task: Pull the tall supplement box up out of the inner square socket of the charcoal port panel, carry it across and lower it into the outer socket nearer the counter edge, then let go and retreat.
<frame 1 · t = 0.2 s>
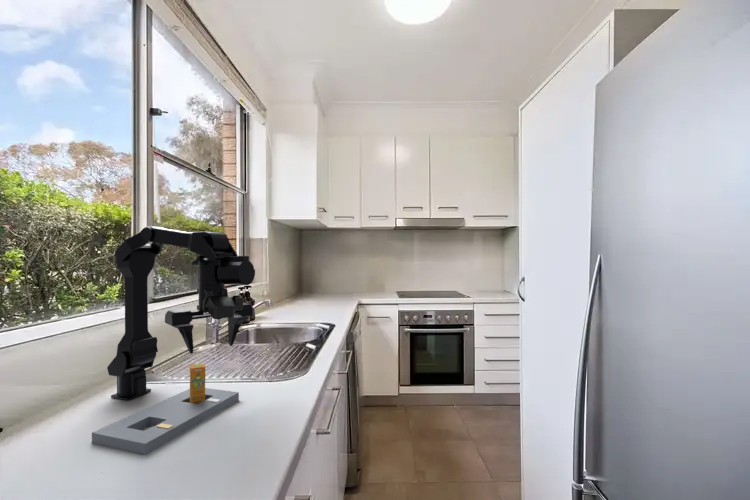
hand: (211, 349, 84), 14 cm above the worktop, fingers open, 9 cm apart
supplement box: (197, 407, 84), resting in port panel
port panel: (174, 419, 78), on the worktop
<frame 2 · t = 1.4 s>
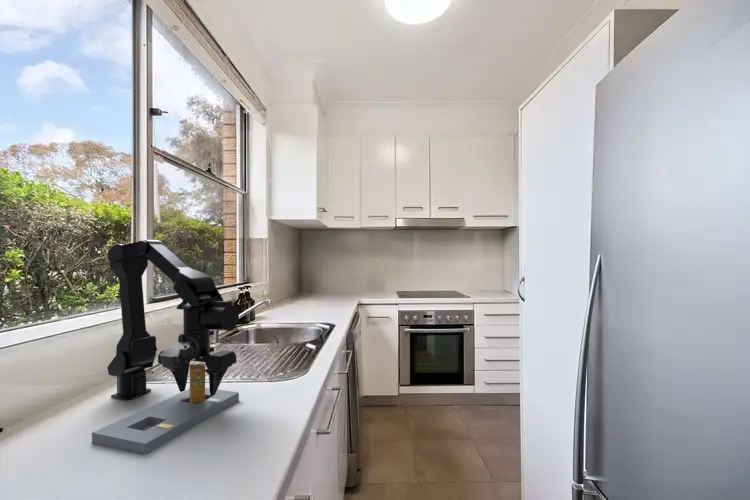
hand: (197, 393, 84), 3 cm above the worktop, fingers open, 9 cm apart
nothing on the worktop moved.
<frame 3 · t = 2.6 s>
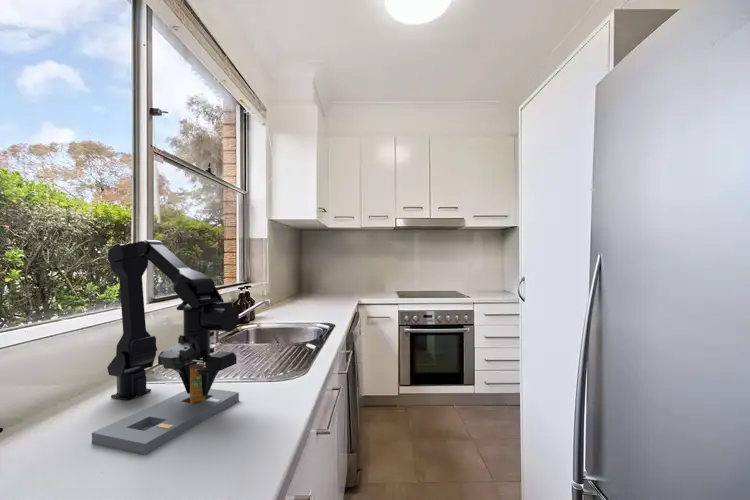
hand: (197, 394, 84), 3 cm above the worktop, fingers closed on supplement box, 4 cm apart
supplement box: (197, 407, 84), resting in port panel, touching gripper
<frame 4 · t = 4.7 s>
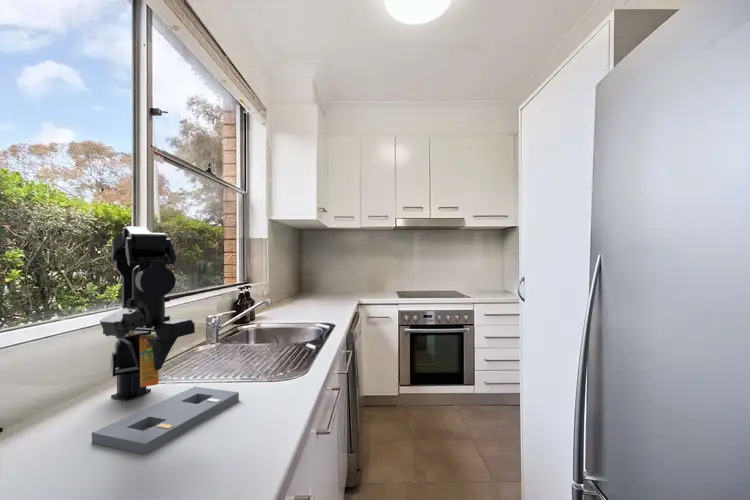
hand: (149, 368, 72), 13 cm above the worktop, fingers closed on supplement box, 4 cm apart
supplement box: (149, 385, 72), point 10 cm above the worktop, touching gripper
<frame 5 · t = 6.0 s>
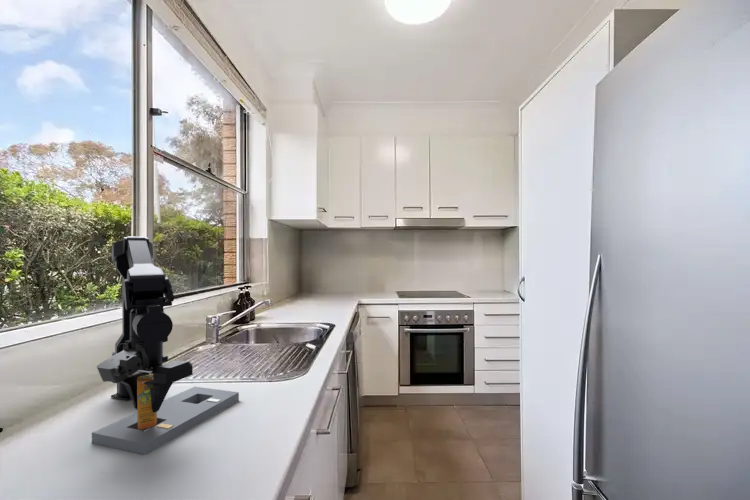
hand: (147, 410, 72), 5 cm above the worktop, fingers closed on supplement box, 4 cm apart
supplement box: (147, 426, 72), point 1 cm above the worktop, touching gripper
when the fingers open (4 cm above the worktop, at t = 6.9 s): supplement box stays where it is, resting in port panel.
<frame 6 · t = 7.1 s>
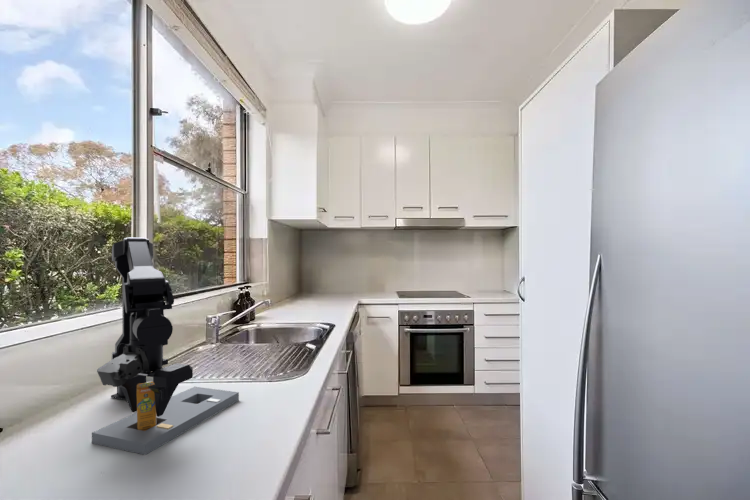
hand: (147, 413, 72), 4 cm above the worktop, fingers open, 7 cm apart
supplement box: (147, 433, 72), resting in port panel
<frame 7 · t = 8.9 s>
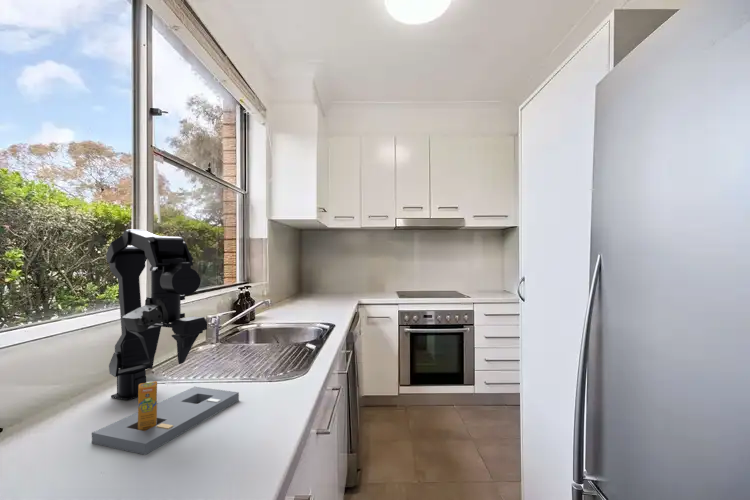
hand: (165, 361, 79), 13 cm above the worktop, fingers open, 9 cm apart
nothing on the worktop moved.
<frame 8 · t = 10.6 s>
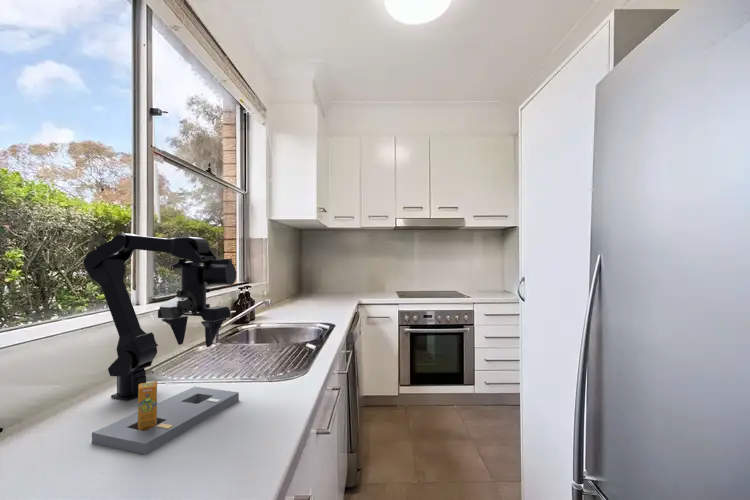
hand: (194, 345, 91), 13 cm above the worktop, fingers open, 9 cm apart
nothing on the worktop moved.
at the end: supplement box 0.1 cm from the target spot on the port panel, point 0.0 cm above the port panel's base; supplement box tilted 0°; the gripper is holding nothing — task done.
